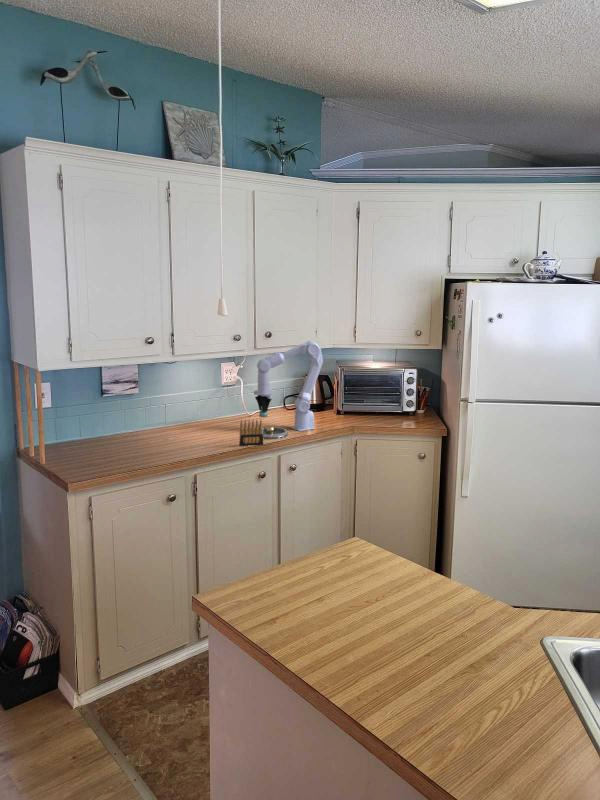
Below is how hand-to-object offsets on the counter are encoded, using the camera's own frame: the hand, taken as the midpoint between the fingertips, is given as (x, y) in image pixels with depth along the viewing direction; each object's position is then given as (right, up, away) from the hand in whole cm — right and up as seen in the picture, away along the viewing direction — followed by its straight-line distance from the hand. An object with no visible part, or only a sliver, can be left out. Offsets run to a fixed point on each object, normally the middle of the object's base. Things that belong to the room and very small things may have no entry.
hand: (263, 411), depth 323 cm
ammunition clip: (-4, -15, -27) cm, 31 cm away
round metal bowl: (+4, -11, -8) cm, 14 cm away
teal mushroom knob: (0, -3, 0) cm, 3 cm away
